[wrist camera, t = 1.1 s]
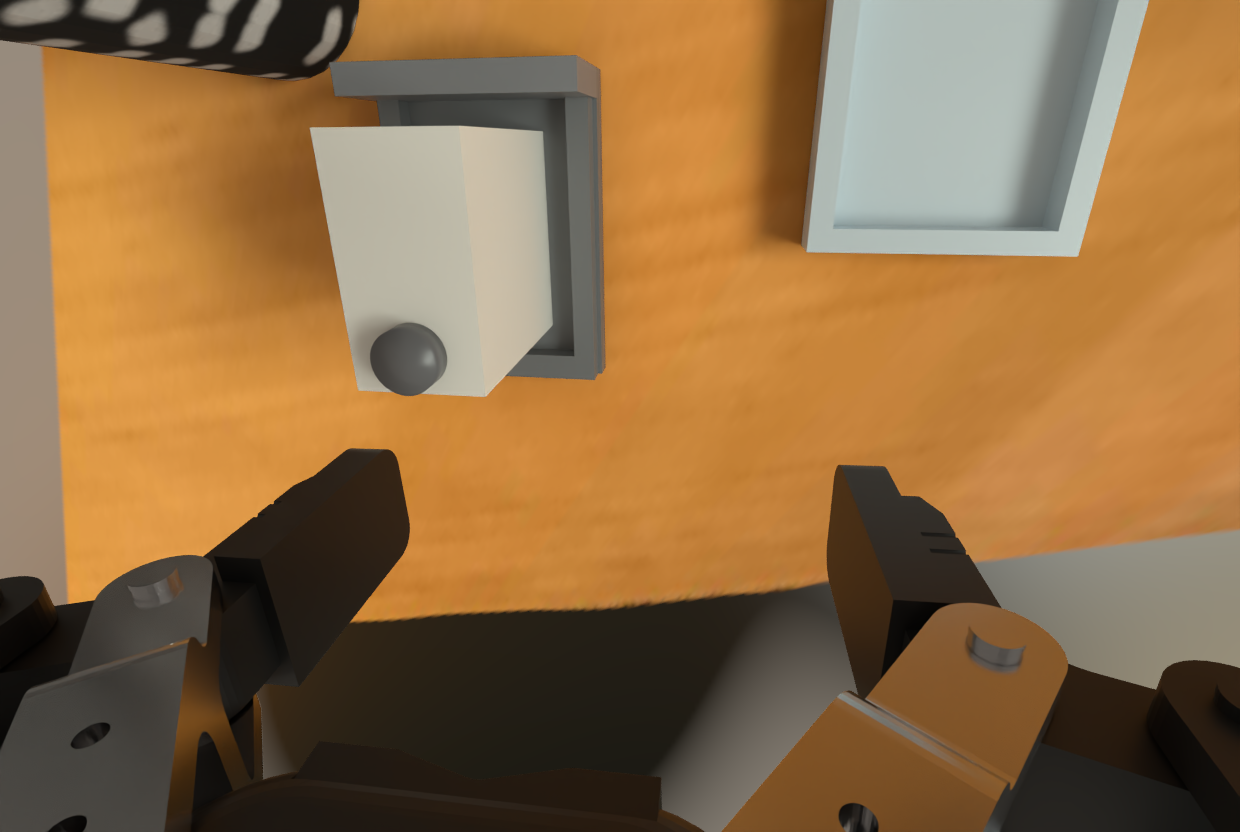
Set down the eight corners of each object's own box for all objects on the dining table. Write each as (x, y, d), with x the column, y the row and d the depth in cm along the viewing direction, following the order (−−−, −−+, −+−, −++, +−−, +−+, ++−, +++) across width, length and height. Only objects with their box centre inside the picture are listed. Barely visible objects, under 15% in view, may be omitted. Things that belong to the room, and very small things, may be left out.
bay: (389, 74, 29) (329, 62, 25) (600, 69, 28) (576, 55, 23) (428, 359, 35) (384, 392, 30) (605, 367, 34) (586, 402, 29)
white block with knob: (438, 132, 29) (290, 126, 19) (542, 131, 28) (445, 124, 18) (459, 321, 33) (343, 400, 23) (552, 325, 32) (475, 407, 22)
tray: (844, -163, 24) (854, -189, 22) (1167, -186, 22) (1209, -217, 20) (801, 245, 30) (806, 252, 28) (1053, 248, 28) (1077, 256, 26)
